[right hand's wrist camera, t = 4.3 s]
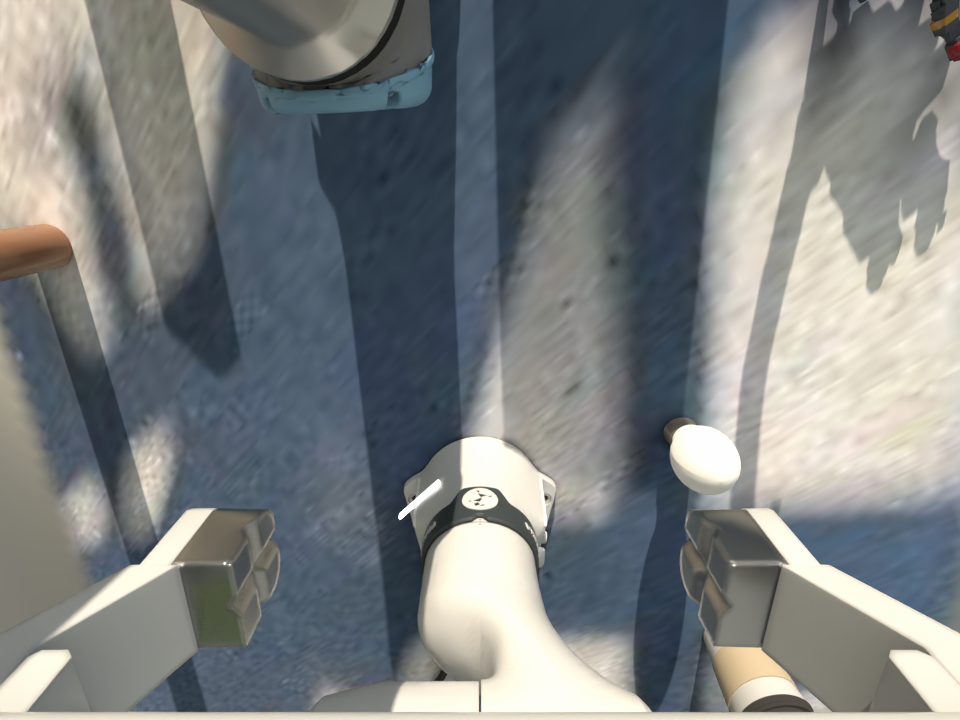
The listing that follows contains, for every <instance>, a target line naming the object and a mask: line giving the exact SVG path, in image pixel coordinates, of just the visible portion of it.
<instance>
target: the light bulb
mask: <svg viewBox="0 0 960 720" xmlns="http://www.w3.org/2000/svg"><path fill="white" fill-rule="evenodd" d="M664 437H665V439H666V441H667V442H668V443H669V445H670V446H671V448H670V461H671V465H672V468H673V470H674V472H675V474H676V475H677V477H678V478H679V479H680V480H681V482H683V483H684V484H685V485H686V486H687V487H689V488H690V489H692V490H694V491H696V492H699V493H701V494H707V495H716V494H721V493H724V492H726V491H728V490H729V489H730V488H732V487H733V486H734V485H735V483H736V482H737V480H738V478H739V475H740V471H741V462H740V457H739V454H738V451H737V449H736V447H735V446H734V444H733V443H732V441H731V440H730V439H729V438H728V437H726V436H725V435H724V434H723V433H721V432H720V431H718V430H716V429H713V428H711V427H706V426H698V425H697V424H696V423H695V422H694V421H693V420H691V419H689V418H676V419H674V420H672V421H670V422H669V423H668V424H667V425H666V427H665V429H664Z"/></svg>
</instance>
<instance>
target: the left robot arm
mask: <svg viewBox="0 0 960 720" xmlns="http://www.w3.org/2000/svg"><path fill="white" fill-rule="evenodd" d="M181 1H183V2H185V3H187V4H189V5H192V6H194V7H196V8H198V9H200V11H201V13H202V15H203V17H204V18H205V20H206V21H207V23H208V24H209V26H210V27H211V29H212V30H213V32H214V33H215V34H216V35H217V37H218V38H219V39H220V40H221V41H222V43H223V44H224V45H225V46H226V47H227V48H228V49H229V50H230V51H232V52H233V53H234V54H235V55H236V56H237V57H238V58H240V59H241V60H243V61H244V62H245V63H247V64H248V65H250V66H252V67H253V68H254V69H253V72H252V79H253V84H254V86H255V87H256V89H257V92H258V96H259V99H260V102H261V104H262V106H263V107H264V108H265V109H266V110H267V111H269V112H271V113H274V114H323V113H345V112H362V111H375V110H384V109H400V108H411V107H416V106H419V105H421V104H423V103H424V102H425V101H426V100H427V99H428V97H429V96H430V93H431V90H432V64H433V62H434V57H435V56H434V50H433V48H432V43H431V27H430V10H429V0H181Z"/></svg>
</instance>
